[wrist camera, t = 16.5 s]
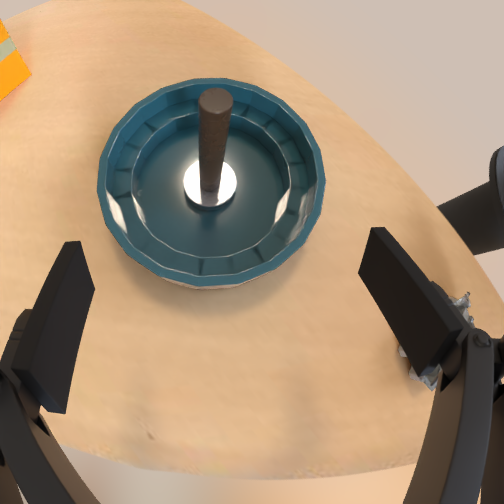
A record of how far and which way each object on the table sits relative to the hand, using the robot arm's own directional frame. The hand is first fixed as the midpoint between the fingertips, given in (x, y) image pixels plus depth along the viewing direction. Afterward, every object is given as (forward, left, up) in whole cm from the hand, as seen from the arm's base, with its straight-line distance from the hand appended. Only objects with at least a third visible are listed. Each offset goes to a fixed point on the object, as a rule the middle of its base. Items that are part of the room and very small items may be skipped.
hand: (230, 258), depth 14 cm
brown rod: (+8, -5, -15) cm, 18 cm away
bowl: (+8, -5, -16) cm, 18 cm away
